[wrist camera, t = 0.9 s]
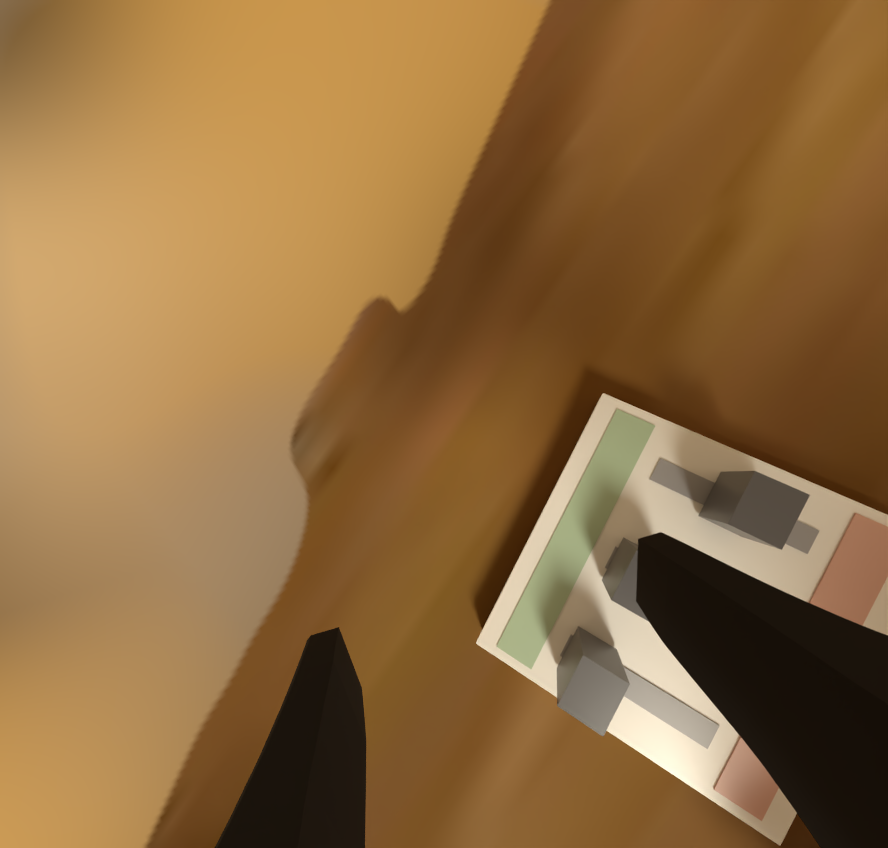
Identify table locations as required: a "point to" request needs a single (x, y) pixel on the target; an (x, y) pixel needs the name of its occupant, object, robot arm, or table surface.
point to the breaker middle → (624, 577)
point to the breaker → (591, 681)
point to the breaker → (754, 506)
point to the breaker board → (640, 648)
